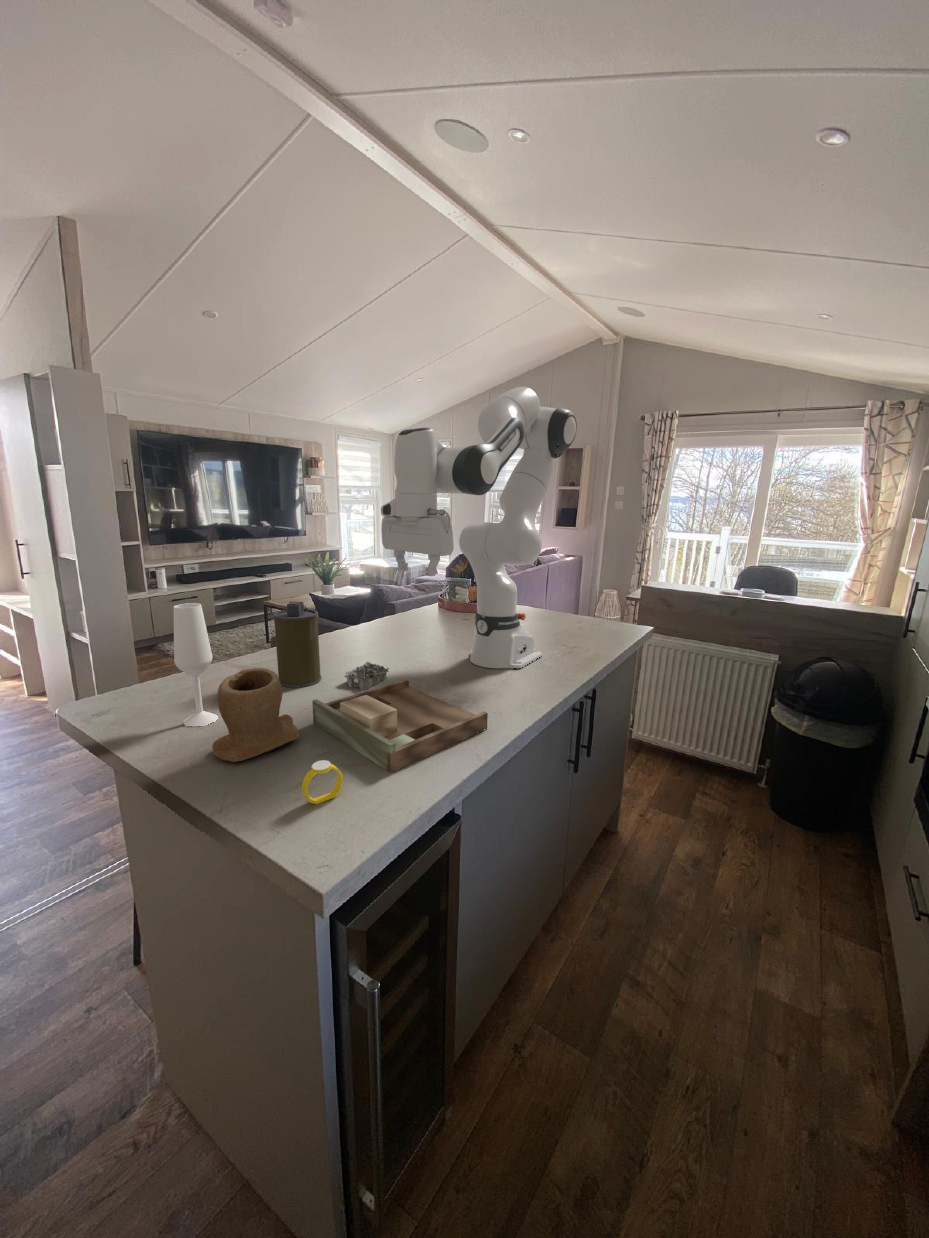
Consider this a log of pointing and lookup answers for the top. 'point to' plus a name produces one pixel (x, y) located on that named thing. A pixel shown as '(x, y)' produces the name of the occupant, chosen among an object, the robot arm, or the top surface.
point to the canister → (297, 645)
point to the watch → (321, 768)
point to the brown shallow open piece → (401, 725)
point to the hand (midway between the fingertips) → (416, 573)
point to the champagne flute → (192, 654)
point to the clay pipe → (252, 715)
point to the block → (371, 714)
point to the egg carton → (372, 676)
